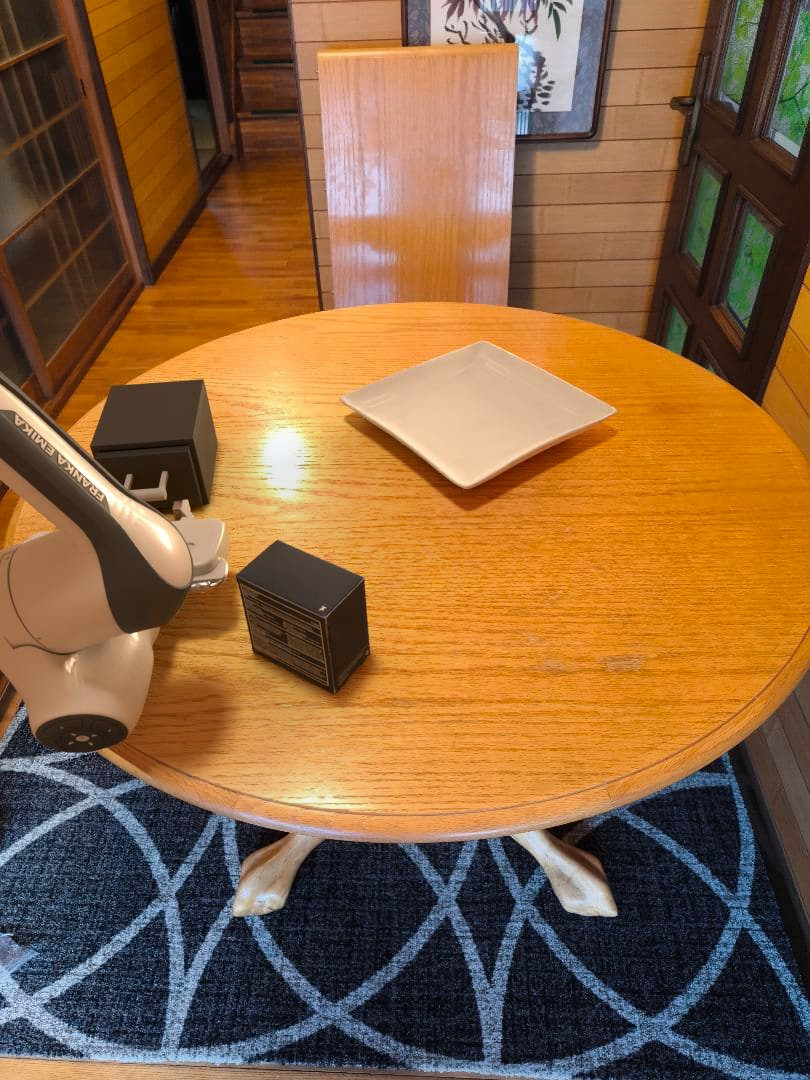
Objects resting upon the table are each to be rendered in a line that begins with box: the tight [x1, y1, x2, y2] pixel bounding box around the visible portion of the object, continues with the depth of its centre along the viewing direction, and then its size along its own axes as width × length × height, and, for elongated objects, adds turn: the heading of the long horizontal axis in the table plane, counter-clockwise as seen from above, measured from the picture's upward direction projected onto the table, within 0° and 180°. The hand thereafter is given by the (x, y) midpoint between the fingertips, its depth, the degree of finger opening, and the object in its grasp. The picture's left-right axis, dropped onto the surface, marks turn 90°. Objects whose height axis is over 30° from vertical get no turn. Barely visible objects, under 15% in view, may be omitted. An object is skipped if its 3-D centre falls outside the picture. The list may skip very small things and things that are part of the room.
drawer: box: [95, 444, 203, 509], centre depth 92 cm, size 17×10×8 cm, turn 6°
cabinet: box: [89, 378, 218, 505], centre depth 95 cm, size 14×12×10 cm
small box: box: [235, 539, 371, 695], centre depth 72 cm, size 11×6×10 cm, turn 58°
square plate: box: [339, 340, 618, 490], centre depth 104 cm, size 27×27×4 cm
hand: (139, 508), depth 84 cm, fingers open, 8 cm apart
